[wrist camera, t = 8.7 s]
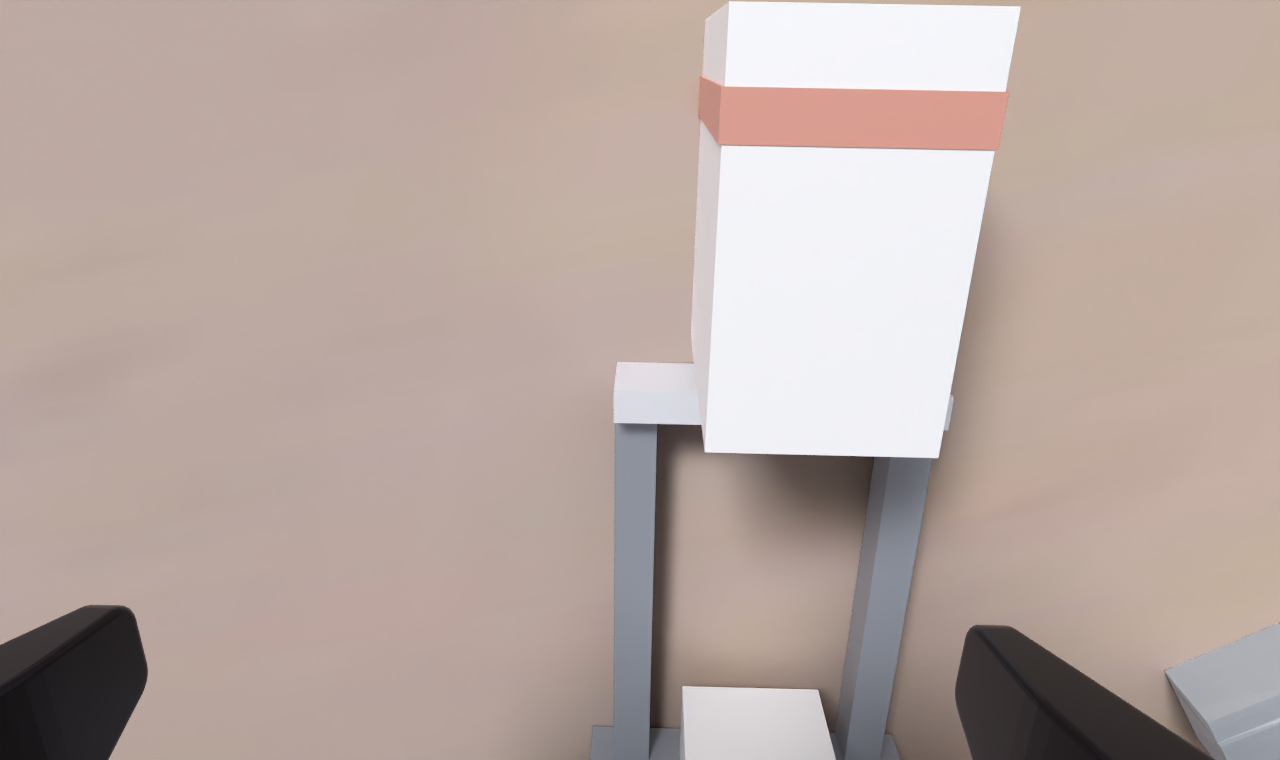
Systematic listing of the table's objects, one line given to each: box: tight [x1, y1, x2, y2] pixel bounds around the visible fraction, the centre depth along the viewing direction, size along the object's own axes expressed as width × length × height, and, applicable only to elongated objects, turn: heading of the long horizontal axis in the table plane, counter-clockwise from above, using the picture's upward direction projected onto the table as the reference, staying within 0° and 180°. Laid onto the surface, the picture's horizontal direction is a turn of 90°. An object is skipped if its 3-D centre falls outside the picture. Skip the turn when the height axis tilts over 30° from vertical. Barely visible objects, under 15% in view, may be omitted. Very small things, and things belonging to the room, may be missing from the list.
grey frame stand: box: [590, 362, 954, 760], centre depth 20 cm, size 17×9×6 cm, turn 179°
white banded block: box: [691, 1, 1021, 458], centre depth 15 cm, size 7×4×6 cm, turn 179°
